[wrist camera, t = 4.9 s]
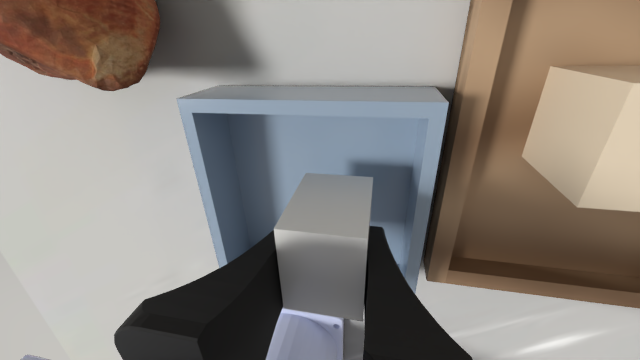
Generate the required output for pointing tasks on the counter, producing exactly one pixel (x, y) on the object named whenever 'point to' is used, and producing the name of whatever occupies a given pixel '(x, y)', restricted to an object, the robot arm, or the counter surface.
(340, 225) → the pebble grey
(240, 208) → the dish
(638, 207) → the cream cube
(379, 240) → the robot arm
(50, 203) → the counter surface
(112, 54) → the bread loaf
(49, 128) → the counter surface
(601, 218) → the tray
